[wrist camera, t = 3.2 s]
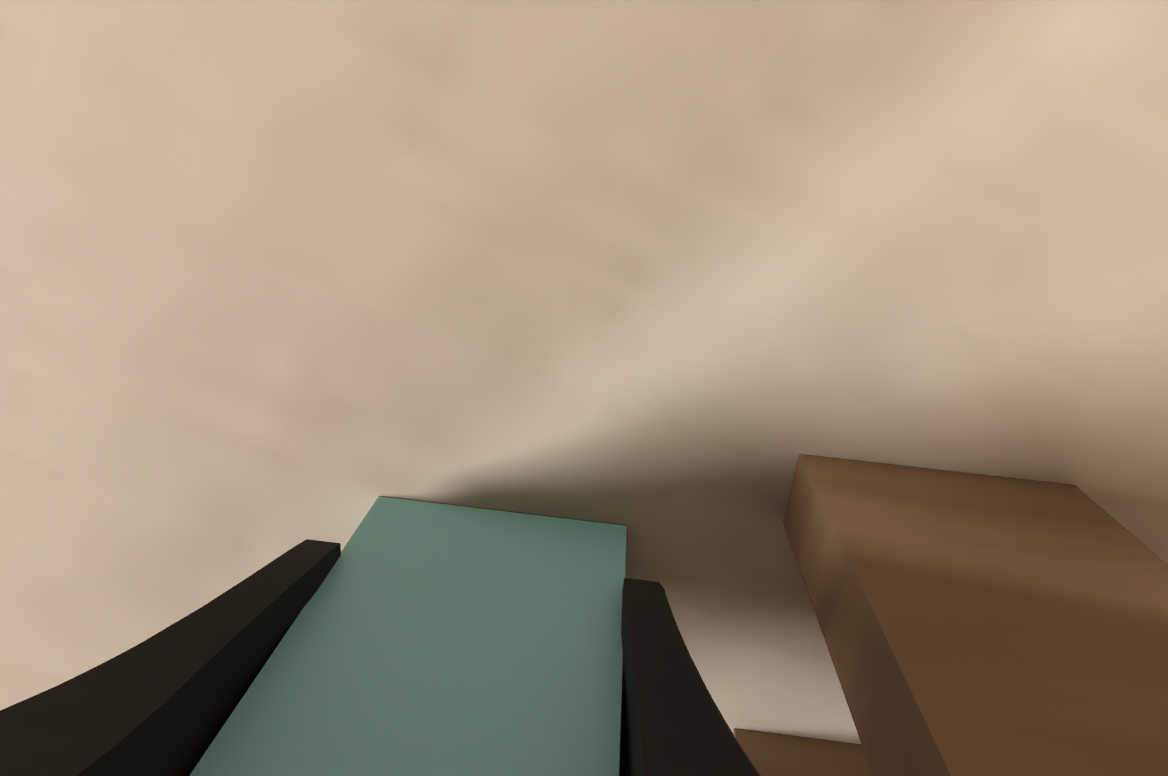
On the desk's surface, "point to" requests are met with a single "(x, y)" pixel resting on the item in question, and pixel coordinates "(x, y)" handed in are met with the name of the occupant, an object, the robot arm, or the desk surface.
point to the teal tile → (445, 654)
